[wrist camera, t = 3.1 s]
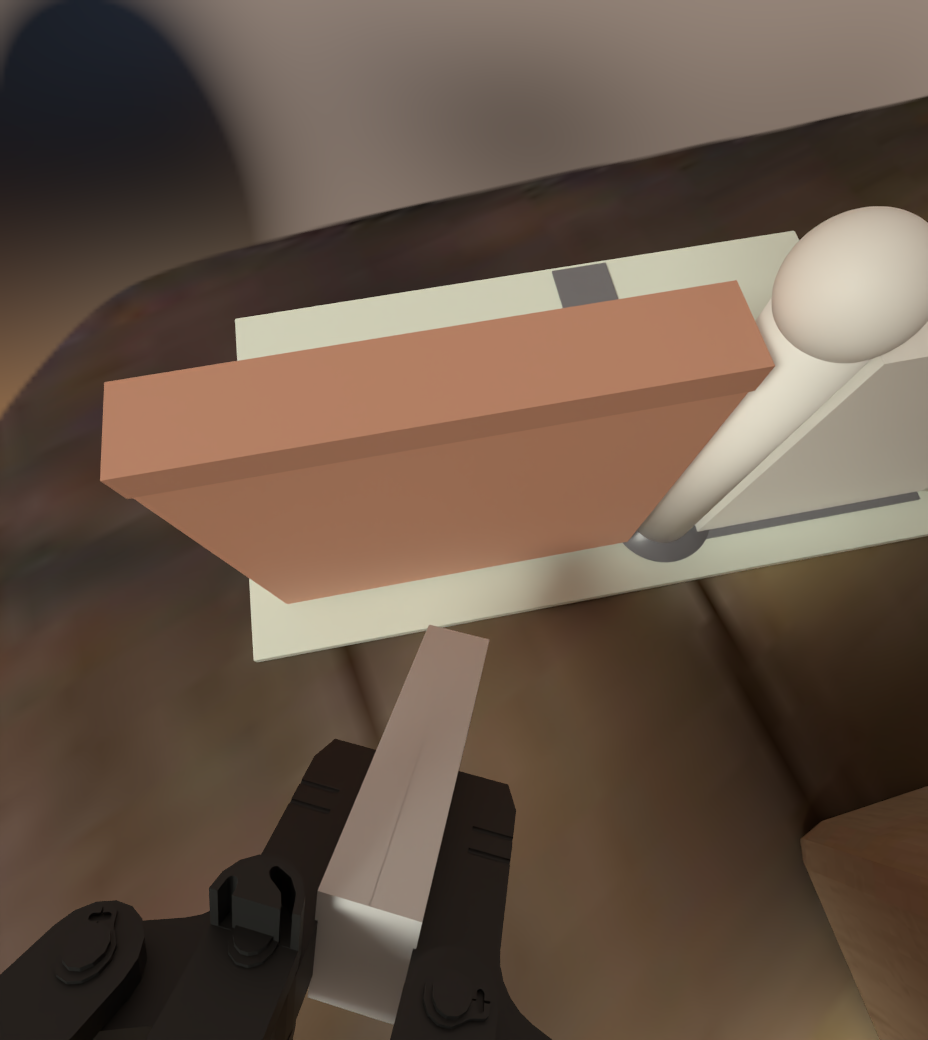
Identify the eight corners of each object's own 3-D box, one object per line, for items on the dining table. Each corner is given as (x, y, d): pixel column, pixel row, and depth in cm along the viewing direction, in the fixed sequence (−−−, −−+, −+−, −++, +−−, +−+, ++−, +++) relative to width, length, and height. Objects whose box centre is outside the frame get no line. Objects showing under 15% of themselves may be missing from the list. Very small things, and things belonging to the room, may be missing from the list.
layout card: (789, 238, 26) (795, 228, 25) (939, 533, 21) (950, 529, 20) (238, 325, 25) (234, 317, 24) (257, 662, 20) (252, 660, 19)
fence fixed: (930, 432, 22) (1467, 78, 10) (963, 493, 21) (1596, 184, 9) (615, 488, 21) (795, 181, 9) (635, 554, 20) (861, 306, 9)
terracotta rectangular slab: (612, 492, 21) (736, 280, 11) (628, 544, 20) (775, 365, 10) (283, 552, 20) (104, 382, 10) (287, 607, 19) (100, 480, 10)
